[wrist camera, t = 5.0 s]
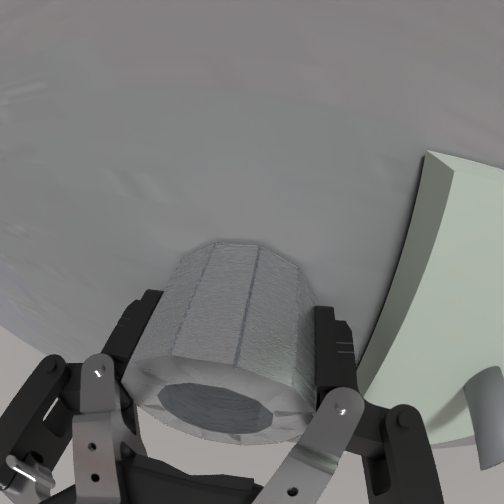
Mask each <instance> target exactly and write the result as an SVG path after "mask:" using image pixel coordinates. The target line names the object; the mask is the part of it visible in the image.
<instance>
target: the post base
mask: <svg viewBox="0 0 504 504" xmlns="http://www.w3.org/2000/svg"><path fill="white" fill-rule="evenodd" d="M356 374H357V385H358V389H359V392H360V394H361V395H362V397H363V398H364V399H365V400H366V401H368V402H369V403H371V404H374V405H377V406H381V407H384V408H388V409H391V408H393V407H394V406H396V405H399V404H408V405H411V406H413V407H415V408H416V409H417V410H418V411H419V412H420V414H421V416H422V419H423V423H424V426H425V429H426V432H427V436H428V439H429V443H430V445H431V444H437V443H442V442H447V441H451V440H456V439H460V438H464V437H468V436H472V435H475V440H476V445H477V450H478V455H479V462H480V469H481V470H485V469H488V468H491V467H493V466H496V465H498V464H500V463H502V462H504V170H502V169H499V168H495V167H492V166H489V165H485V164H482V163H478V162H474V161H471V160H467V159H463V158H459V157H455V156H451V155H446V154H442V153H437V152H433V151H428V150H426V155H425V160H424V166H423V171H422V176H421V181H420V185H419V190H418V194H417V199H416V203H415V207H414V211H413V215H412V219H411V223H410V227H409V230H408V234H407V238H406V241H405V245H404V248H403V251H402V255H401V258H400V261H399V264H398V267H397V270H396V273H395V276H394V279H393V282H392V285H391V288H390V291H389V294H388V297H387V299H386V302H385V305H384V307H383V310H382V313H381V315H380V318H379V320H378V323H377V325H376V328H375V330H374V333H373V335H372V337H371V340H370V342H369V345H368V347H367V349H366V351H365V354H364V356H363V358H362V360H361V363H360V365H359V367H358V369H357V371H356ZM344 453H351V452H347V451H344V452H343V454H344Z"/></svg>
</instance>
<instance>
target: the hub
mask: <svg viewBox="0 0 504 504" xmlns="http://www.w3.org/2000/svg"><path fill="white" fill-rule="evenodd" d="M315 380H316V349H315V295H314V293H313V292H312V290H311V288H310V286H309V285H308V283H307V281H306V279H305V278H304V276H303V274H302V272H301V271H300V269H299V268H297V266H296V265H294V264H293V263H291V262H289V261H287V260H285V259H284V258H282V257H280V256H278V255H277V254H275V253H273V252H271V251H269V250H268V249H266V248H264V247H262V246H261V248H260V249H259V245H248V244H233V243H218V242H217V244H215V243H213V244H211V245H209V246H207V247H205V248H202V249H200V250H198V251H196V252H194V253H192V254H189V255H187V256H185V257H183V259H182V260H181V261H180V263H179V265H178V267H177V269H176V271H175V272H174V274H173V276H172V278H171V280H170V282H169V284H168V285H167V287H166V289H165V291H164V293H163V295H162V297H161V299H160V301H159V303H158V305H157V306H156V308H155V310H154V312H153V314H152V316H151V318H150V320H149V322H148V324H147V326H146V328H145V330H144V332H143V334H142V336H141V338H140V340H139V342H138V344H137V346H136V348H135V351H134V353H133V355H132V357H131V359H130V361H129V363H128V365H127V368H126V370H125V373H124V375H123V378H122V380H121V381H122V382H121V383H122V384H123V386H124V387H125V389H126V391H127V392H128V394H129V395H130V397H131V398H132V400H133V401H134V403H135V404H137V406H139V407H140V408H142V409H143V410H144V411H146V412H147V413H149V414H150V415H151V416H153V417H154V418H156V419H157V420H159V421H161V422H162V423H163V424H167V426H170V427H172V428H175V429H177V430H180V431H182V432H185V433H188V434H190V435H193V436H196V437H199V438H204V439H206V440H211V441H217V442H223V443H230V444H236V445H242V444H243V445H258V444H259V445H260V444H274V443H279V442H284V441H286V440H289V439H291V438H294V437H296V436H298V435H301V434H303V433H304V432H305V430H306V428H307V427H308V425H309V424H310V422H311V420H312V419H313V417H314V415H315V414H316V389H315Z"/></svg>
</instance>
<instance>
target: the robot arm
mask: <svg viewBox="0 0 504 504" xmlns="http://www.w3.org/2000/svg"><path fill="white" fill-rule="evenodd" d="M163 293H164V291H159V290H151V289H148V290H146V292H145V293H144V295H143V297H142V298H141V300H135V301H134V302H132V303H131V304H130V305H129V306H128V307H127V308H126V309H125V311H124V313H123V315H122V316H121V318H120V320H119V321H118V323H117V326H116V327H115V328H114V330H113V332H112V334H111V335H110V337H109V339H108V341H107V342H106V344H105V346H104V348H103V350H102V351H101V353H100V354H94V355H92V356H90V357H89V358H87V359H86V360H85V362H84V363H66V362H65V360H64V359H63V358H62V357H61V356H59V355H56V354H53V355H49V356H47V357H45V358H44V359H43V360H42V361H41V362H40V363H39V365H38V366H37V367H36V369H35V370H34V371H33V373H32V374H31V375H30V376H29V378H28V379H27V381H26V382H25V383H24V385H23V386H22V388H21V389H20V390H19V392H18V393H17V395H16V396H15V397H14V398H13V400H12V401H11V403H10V404H9V406H8V407H7V409H6V410H5V412H4V413H3V415H2V416H1V418H0V491H2V492H3V493H4V494H5V495H6V496H7V497H8V498H9V499H10V500H11V501H12V502H13V503H14V504H316V502H317V500H318V499H319V497H320V496H321V494H322V492H323V491H324V489H325V488H326V486H327V484H328V483H329V481H330V479H331V478H332V476H333V474H334V472H335V470H336V468H337V466H338V462H339V460H340V458H341V456H342V454H343V452H344V451H347V452H351V453H354V454H358V455H361V456H362V462H363V467H364V474H365V480H366V486H367V493H368V499H369V504H444V501H443V496H442V491H441V486H440V482H439V478H438V473H437V469H436V465H435V462H434V458H433V454H432V450H431V446H430V443H429V439H428V436H427V432H426V429H425V426H424V423H423V419H422V416H421V414H420V412H419V411H418V410H417V409H416V408H415V407H413V406H411V405H408V404H399V405H396V406H394V407H393V408H391V409H388V408H384V407H381V406H377V405H374V404H371V403H369V402H368V401H366V400H365V399H364V398H363V397H362V395H361V394H360V392H359V389H358V385H357V374H356V364H355V354H354V346H353V338H352V331H351V329H350V328H349V326H348V324H347V323H346V321H339V320H335V316H334V308H333V307H327V306H315V349H316V380H315V389H316V414H315V415H314V417H313V419H312V420H311V422H310V424H309V425H308V427H307V428H306V430H305V432H304V433H303V435H302V436H301V438H300V439H299V441H298V442H297V444H296V445H295V446H294V447H293V448H292V450H291V451H290V452H289V454H288V455H287V457H286V458H285V459H284V461H283V462H282V464H281V465H280V467H279V468H278V470H277V471H276V472H275V474H274V475H273V476H272V478H271V479H270V480H269V482H268V483H267V484H266V486H265V487H263V486H261V485H258V484H255V483H254V479H253V478H245V477H237V476H230V475H223V474H222V475H188V474H186V473H184V472H182V471H180V470H178V469H176V468H174V467H172V466H171V465H169V464H167V463H165V462H163V461H160V460H156V459H153V458H150V457H148V456H147V452H146V449H145V447H144V444H143V443H142V440H141V435H140V428H139V421H138V413H137V405H136V404H135V403H134V401H133V400H132V398H131V397H130V395H129V394H128V392H127V391H126V389H125V387H124V386H123V384H122V383H121V382H122V381H121V380H122V378H123V375H124V373H125V370H126V368H127V365H128V363H129V361H130V359H131V357H132V355H133V353H134V351H135V348H136V346H137V344H138V342H139V340H140V338H141V336H142V334H143V332H144V330H145V328H146V326H147V324H148V322H149V320H150V318H151V316H152V314H153V312H154V310H155V308H156V306H157V305H158V303H159V301H160V299H161V297H162V295H163ZM56 398H58V401H57V402H56V404H55V406H54V407H53V408H52V410H51V411H50V413H49V414H48V416H47V417H46V419H45V420H44V421H43V418H44V416H45V414H46V413H47V411H48V410H49V408H50V406H51V405H52V404H53V402H54V401H55V399H56ZM72 438H73V460H74V474H75V484H74V485H72V486H70V487H68V488H66V489H65V490H63V491H61V492H59V493H57V494H55V495H53V496H50V489H52V488H54V487H55V480H54V479H53V477H52V471H53V469H54V467H55V466H56V464H57V462H58V461H59V459H60V457H61V455H62V454H63V452H64V450H65V449H66V447H67V445H68V444H69V442H70V440H71V439H72Z"/></svg>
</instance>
